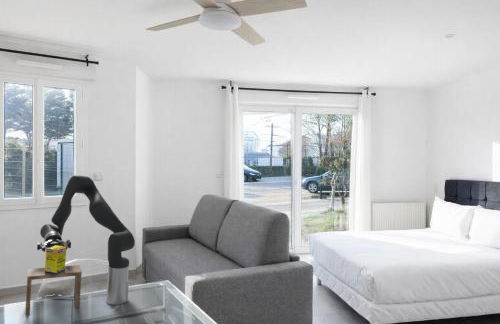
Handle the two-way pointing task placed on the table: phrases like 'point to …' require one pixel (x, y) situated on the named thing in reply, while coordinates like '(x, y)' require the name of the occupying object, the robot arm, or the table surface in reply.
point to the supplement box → (55, 259)
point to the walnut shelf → (40, 274)
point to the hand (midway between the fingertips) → (55, 249)
